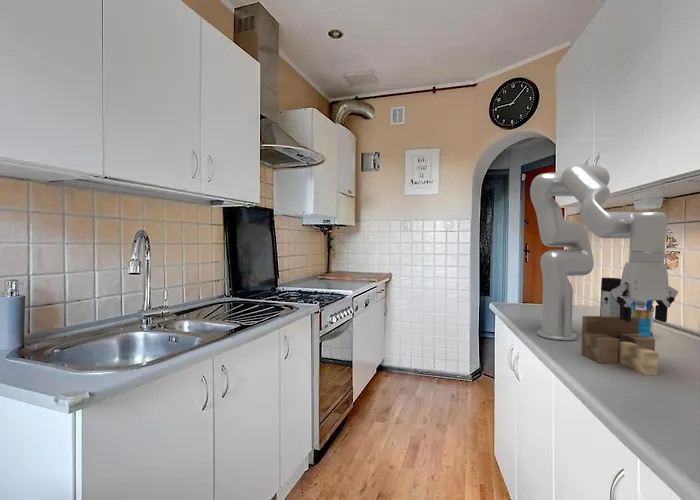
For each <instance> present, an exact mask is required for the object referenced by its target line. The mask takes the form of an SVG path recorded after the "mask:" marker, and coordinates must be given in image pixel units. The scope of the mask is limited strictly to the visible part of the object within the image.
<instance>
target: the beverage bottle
mask: <svg viewBox="0 0 700 500" xmlns="http://www.w3.org/2000/svg"><path fill="white" fill-rule="evenodd" d="M654 303H655V301H644V300H634V301H633V302H632V304H631V305H630V306H629V307H631V316H636V317H639V334H641V335H644V336H647V337H650V338H653V337H654V336H653V331H654V330H653V326H654V325H653V324H654V313H655V308H654V306H653V305H654Z"/></svg>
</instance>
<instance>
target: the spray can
mask: <svg viewBox="0 0 700 500" xmlns="http://www.w3.org/2000/svg"><path fill="white" fill-rule="evenodd" d="M600 284H601V285H600V307H599V309H600V310H599V316H620V305H618V303H617V302H616V301H615V300H614V297H613V295H612V292H611V290H612V289H614V288H616V287H618V286H620V285H621V278H618V277H601V283H600Z"/></svg>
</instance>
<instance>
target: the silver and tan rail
mask: <svg viewBox="0 0 700 500" xmlns="http://www.w3.org/2000/svg"><path fill="white" fill-rule="evenodd" d="M617 339H619V345H618V364H620V365H624V366H626V367H628V368H629V369H632V370H635V371H636V372H638V373H640V374H642V375H644V376H658V373H659V372H658V370H659V352H658V351H656V350H655V351H652V350H650V349H647V348H644V347H642V346H639V345H636V344H634V343H631V342H629V341H626V340H623V339H621V338H617Z"/></svg>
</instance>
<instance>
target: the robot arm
mask: <svg viewBox="0 0 700 500" xmlns="http://www.w3.org/2000/svg"><path fill="white" fill-rule="evenodd" d="M610 178H611V177H610V173H609V171H608V170H607V169H606V168H605V167H603V166H600V165H589V164H588V165H587V164H586V165H583V164H577V165H571V166H569V167H567V168H565V169H564V170H563V171H562V172H545V173H540V174H538V175H536V176H535V177H534V178H533V179H532V181H531V185H530V187H529V189H530V190H529V194H530V195H529V196H530V200H531V203H532V205H533V208H534V211H535V214H536V220H537V227H538V230H539V231H538V232H539V237H540V240H541V243H542V244H543V245H544V246H546V247H550V248H567V249H549V250H548V251H546V252H544V253H543V254H542V255H541V257H540V269H541V274H542V311H541V312H542V313H541V316H542V317H541V318H542V319H541V321H540V322H539V323H540V325H541V329H538V330H537V332H536V334H537V335H538V336H540V337H541V338H543V339H544V338H545V339H549V340H557V341H575V340H577V338H578V337H577V336H578V335H577V334H576V333H574V332H572V330H573V329H572V327H573V299H574V297H573V293H574V292H573V291H574V290H573V285H572V283H571V282H570V280H569V278H568V277H578V276H587V275H589V274H590V273H591V272H592V271H593V269H594V264H595V263H594V261H595V260H594V256H593V250H592V245H591V242H590V241H591V240H590V236H589V232H588V231H590V232H591V233H592V234H593V235H595V236H597V237H598V238H602V239H629V253H628V261H626V262H625V263H624V266H623V270H622V272H621V273H622V274H621V278H620V279H621V285H620V286H618V287H616V288H614V289H612V290H611V292H612V295H613V297H614V300H615V301H616V302H617V303H618V305H620V320H623V321H626V322H630V321H631V307H629V306H630V305H631V304H632V302H633V301H634V300H644V301H654V302H656V305H655V308H654V319H655V320H656V321H659V322H662V323H667V320H668V308H670V307H671V304H673V302H675V301H676V299H675V298H676V297H677V296H678V294H679V290H677V289H676V288H673V287H672V286H669V273H668V267H667V263H665V260H666V259H668V257H669V256H668V254H667V253H666V240H667V225H668V223H667V222H668V216H667V214H665V212H661V211H640V212H639V211H638V212H635V211H634V212H630V211H629V212H628V211H626V212H625V211H606V210H605V209H604V208H603V207H601V206H602V205H604V204H605V203H607V202H606V201H608V199H609V198H610V194H611V191H610V189H609V187H608V185H609V184H610ZM553 197H574V198H575V199H576V200H577V201H578V203H579V204H580V206H579V216H580V220H581V221H582V223H583V224H582V223H581V222H578V221H566V220H565V219H564V215H563V210H562V208H561V206H560V204H559V203H558V202H557V201H556V200H555V199H554V198H553ZM587 229H588V230H587Z"/></svg>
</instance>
